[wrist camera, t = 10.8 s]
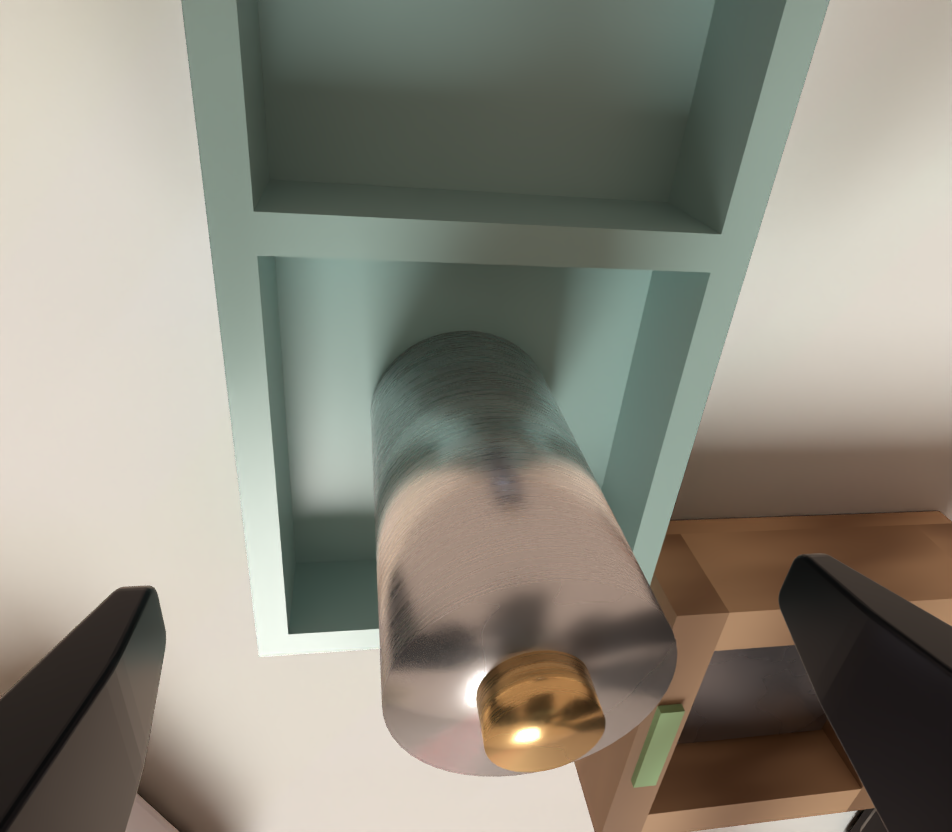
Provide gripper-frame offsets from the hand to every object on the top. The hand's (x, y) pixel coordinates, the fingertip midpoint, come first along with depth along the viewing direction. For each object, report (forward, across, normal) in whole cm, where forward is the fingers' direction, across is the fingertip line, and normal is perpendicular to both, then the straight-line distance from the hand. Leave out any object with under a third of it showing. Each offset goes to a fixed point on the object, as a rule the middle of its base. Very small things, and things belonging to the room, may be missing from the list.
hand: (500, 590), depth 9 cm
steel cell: (+5, 0, 0) cm, 5 cm away
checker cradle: (+5, -9, +8) cm, 13 cm away
